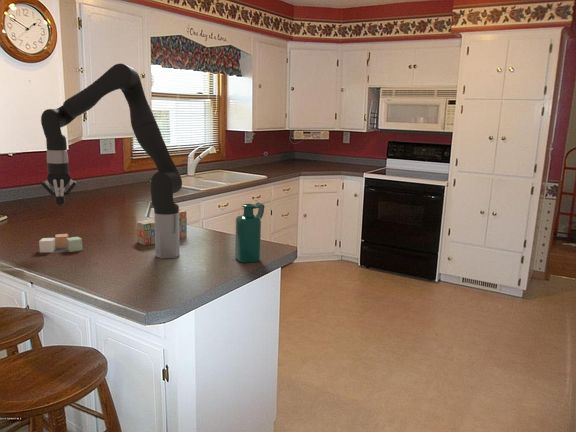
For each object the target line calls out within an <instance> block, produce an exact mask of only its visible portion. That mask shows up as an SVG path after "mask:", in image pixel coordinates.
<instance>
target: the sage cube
mask: <svg viewBox="0 0 576 432" xmlns="http://www.w3.org/2000/svg"><path fill="white" fill-rule="evenodd" d="M82 240H83V239H82V238H81V237H79V236H73V237H69V238H66V241H67V250H69V251H70V252H69V253H72V252H73V251H75V252H81V251H83V246H82V244H83V241H82ZM80 250H81V251H80Z"/></svg>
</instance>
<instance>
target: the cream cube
mask: <svg viewBox="0 0 576 432" xmlns="http://www.w3.org/2000/svg"><path fill="white" fill-rule="evenodd" d="M38 243H39V244H38V245H39V251H40V252H53V251H54V250H55V249H56V238H55V237H43V238H41V239H40V240H39V241H38Z"/></svg>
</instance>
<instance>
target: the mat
mask: <svg viewBox="0 0 576 432" xmlns="http://www.w3.org/2000/svg"><path fill="white" fill-rule="evenodd" d="M83 246H84V243H82V247H83ZM73 252H76V251H73ZM79 252H82V250H80V251H79ZM52 253H55V254H56V253H71V252H70V251H69V250H67V247H65V248H56V249H55V250H54V251H53V252H40V250H39V251H38V254H52Z"/></svg>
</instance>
